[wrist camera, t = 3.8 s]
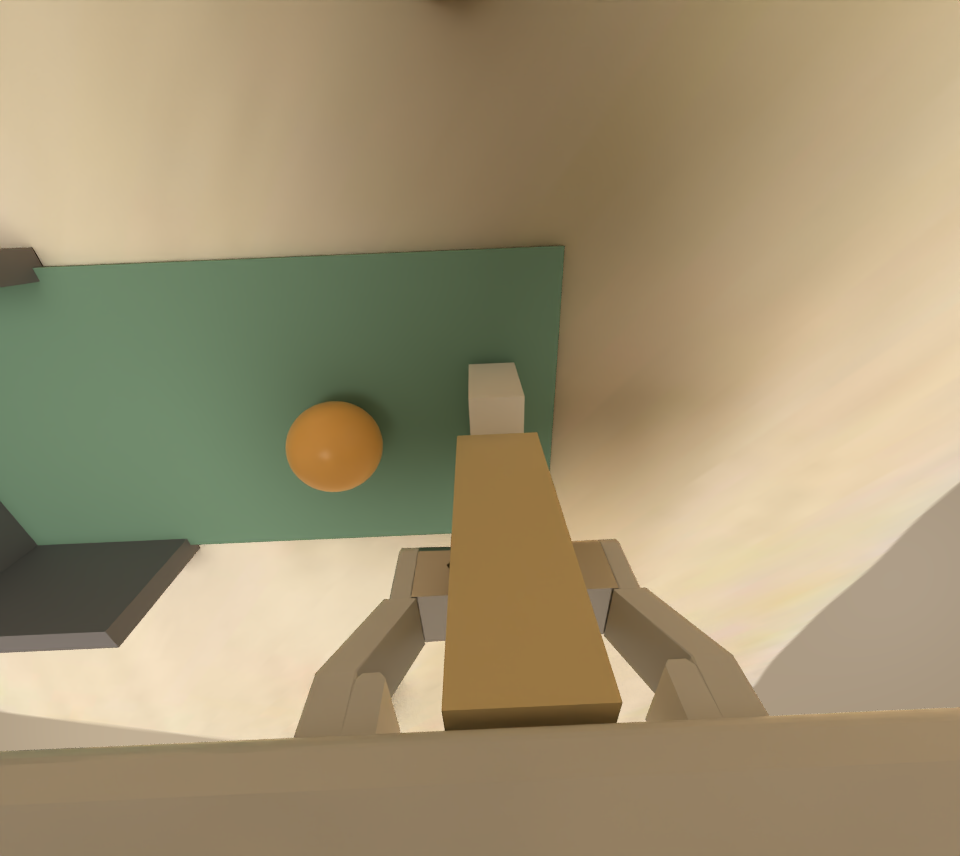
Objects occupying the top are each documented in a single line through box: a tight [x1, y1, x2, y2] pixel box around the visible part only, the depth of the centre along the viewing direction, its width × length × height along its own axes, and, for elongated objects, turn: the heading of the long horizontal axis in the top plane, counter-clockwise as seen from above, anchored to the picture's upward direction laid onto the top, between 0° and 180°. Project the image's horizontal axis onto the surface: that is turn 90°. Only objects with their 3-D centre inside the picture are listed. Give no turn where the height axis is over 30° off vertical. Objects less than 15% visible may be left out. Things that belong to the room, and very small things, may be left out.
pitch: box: [0, 246, 565, 545], centre depth 19 cm, size 15×31×1 cm, turn 92°
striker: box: [442, 362, 622, 731], centre depth 12 cm, size 6×3×13 cm, turn 2°
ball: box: [285, 401, 383, 492], centre depth 17 cm, size 4×4×4 cm
